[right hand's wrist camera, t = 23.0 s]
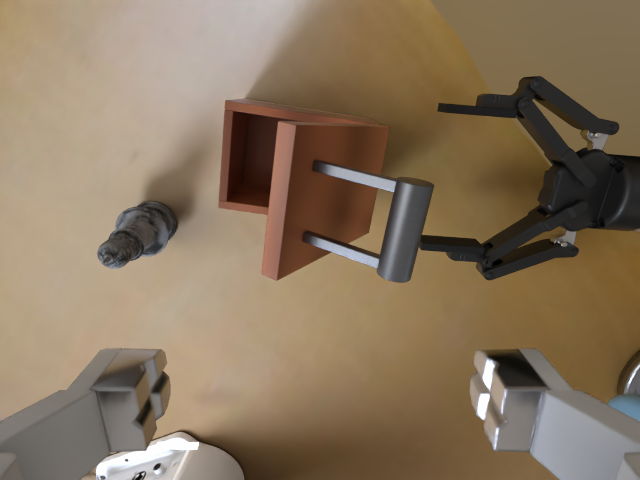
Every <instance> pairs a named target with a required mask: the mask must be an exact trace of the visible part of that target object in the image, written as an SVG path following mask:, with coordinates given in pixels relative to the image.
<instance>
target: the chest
mask: <svg viewBox="0 0 640 480" xmlns="http://www.w3.org/2000/svg"><path fill="white" fill-rule="evenodd" d="M278 121H291V122H320V123H349V124H377V125H381V124H379V123H377V122H375V121H373V120H372V119H370V118H365V117H359V116H352V115H346V114H340V113H333V112H327V111H321V110H314V109H308V108H302V107H295V106H289V105H283V104H276V103H270V102H264V101H257V100H251V99H237V100H226V101H225V113H224V128H223V144H222V159H221V175H220V190H219V206H218V207H219V208H223V209H230V210H237V211H244V212H251V213H258V214H265V215H268V209H269V200H270V191H271V182H272V173H273V164H274V155H275V145H276V136H277V127H278Z"/></svg>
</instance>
